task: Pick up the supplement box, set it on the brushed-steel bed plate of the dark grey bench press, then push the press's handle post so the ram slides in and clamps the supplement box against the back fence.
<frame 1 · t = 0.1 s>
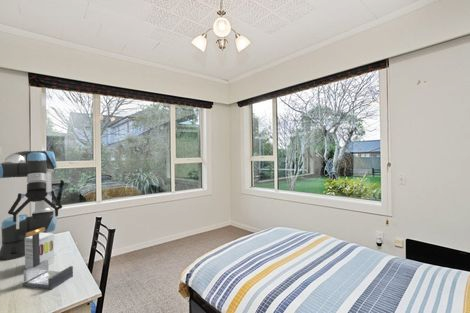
hand: (36, 226, 114), 28 cm above the table, tool tilted 20°, fingers open, 13 cm apart
tablet: (39, 244, 163), on the table
supplement box: (40, 265, 133), on the table
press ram: (36, 252, 118), point 14 cm above the table, slide at 0.0 cm
press bed: (49, 281, 117), on the table
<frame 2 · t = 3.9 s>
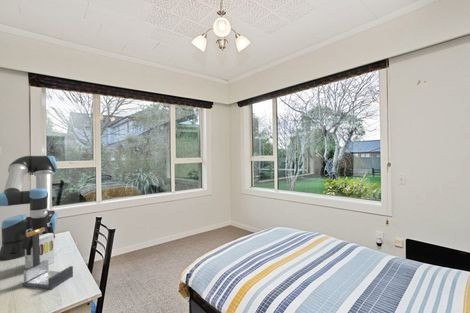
hand: (39, 256, 133), 5 cm above the table, tool pointing down, fingers closed on supplement box, 10 cm apart
supplement box: (40, 265, 133), on the table, touching gripper
everything else where it was.
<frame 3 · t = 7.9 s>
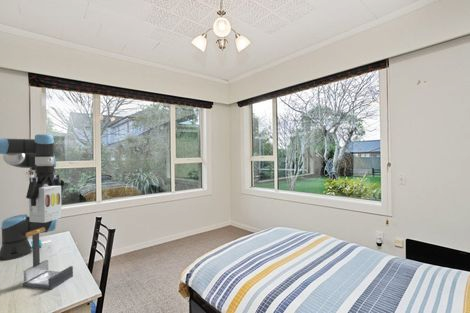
hand: (45, 209, 119), 34 cm above the table, tool pointing down, fingers closed on supplement box, 10 cm apart
supplement box: (46, 220, 120), point 29 cm above the table, touching gripper
everything else where it was.
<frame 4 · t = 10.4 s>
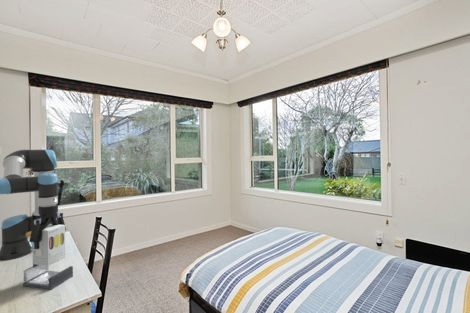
hand: (49, 250, 116), 15 cm above the table, tool pointing down, fingers closed on supplement box, 10 cm apart
supplement box: (49, 261, 116), point 10 cm above the table, touching gripper
everything else where it was.
when the fingers open (8 cm above the table, at t = 12.4 s): supplement box drops 1 cm, resting on press bed.
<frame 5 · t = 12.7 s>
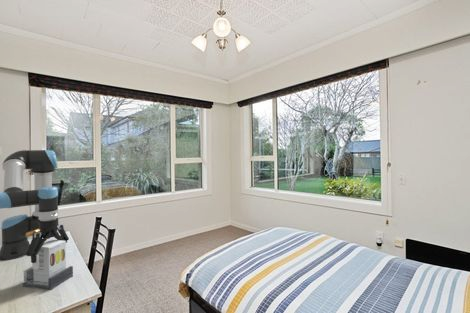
hand: (49, 262, 116), 10 cm above the table, tool pointing down, fingers open, 13 cm apart
supplement box: (50, 277, 117), point 2 cm above the table, touching press bed
everything else where it was.
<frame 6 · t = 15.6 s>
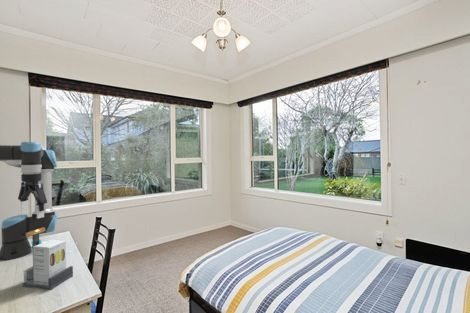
hand: (32, 215, 118), 32 cm above the table, tool pointing down, fingers open, 13 cm apart
nothing on the table moved.
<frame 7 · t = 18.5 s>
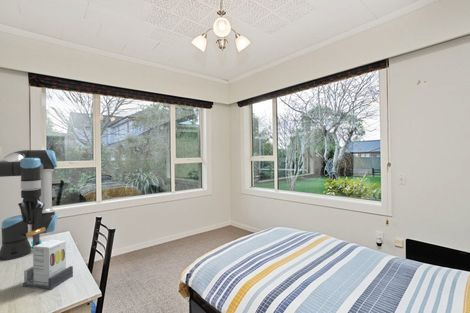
hand: (32, 236, 117), 22 cm above the table, tool pointing down, fingers closed
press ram: (36, 252, 118), point 14 cm above the table, slide at 0.2 cm, touching gripper
everything else where it was.
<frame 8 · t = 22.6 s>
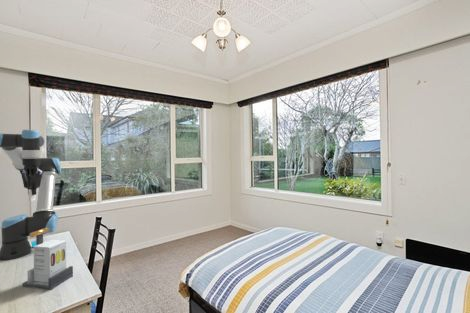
hand: (32, 200, 131), 36 cm above the table, tool pointing down, fingers closed
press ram: (40, 252, 117), point 14 cm above the table, slide at 2.2 cm
everything else where it was.
at the end: supplement box 0.6 cm off-centre on the press bed, point 1.7 cm above the press bed's base; supplement box tilted 0°; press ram slide at 2.2 cm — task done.
